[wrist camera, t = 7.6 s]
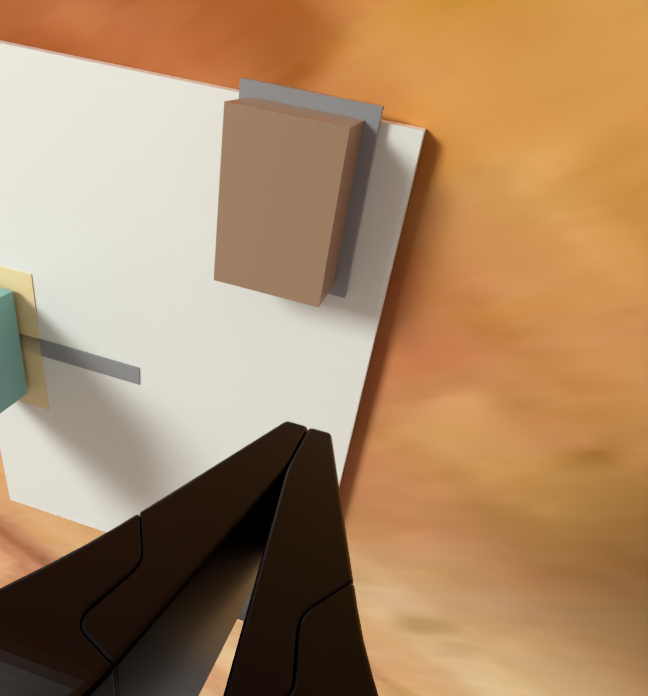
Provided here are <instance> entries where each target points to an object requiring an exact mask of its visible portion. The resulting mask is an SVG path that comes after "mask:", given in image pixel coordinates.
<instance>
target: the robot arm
mask: <svg viewBox="0 0 648 696" xmlns="http://www.w3.org/2000/svg"><path fill="white" fill-rule="evenodd" d="M253 586H254V587H253ZM252 588H253V591H252V594H251V598H250V601H249V605H248V609H247V612H246V616H245V620H244V623H243V627H242V630H241V634H240V638H239V641H238V645H237V648H236V652H235V656H234V659H233V663H232V667H231V670H230V674H229V677H228V681H227V685H226V688H225V692H224V696H378V693H377V689H376V686H375V683H374V679H373V676H372V672H371V668H370V664H369V660H368V656H367V652H366V648H365V644H364V640H363V635H362V630H361V624H360V619H359V614H358V608H357V602H356V595H355V589H354V586H353V577H352V570H351V564H350V557H349V550H348V543H347V537H346V530H345V523H344V517H343V510H342V503H341V496H340V490H339V483H338V476H337V470H336V463H335V456H334V449H333V443H332V437H331V435H330V434H329V433H327V432H324V431H320V430H317V429H314V428H311V429H309V430H308V429H307V427H306V426H303V425H300V424H296V423H293V422H288V421H287V422H284V423H282V424H280V425H279V426H277V427H276V428H274V429H272V430H271V431H269V432H268V433H266V434H264V435H263V436H261V437H260V438H258V439H256V440H255V441H253V442H252V443H250V444H248V445H247V446H245V447H244V448H242V449H240V450H239V451H237V452H236V453H234V454H232V455H231V456H229V457H228V458H226V459H224V460H223V461H221V462H220V463H218V464H216V465H215V466H213V467H212V468H210V469H208V470H207V471H205V472H204V473H202V474H200V475H199V476H197V477H196V478H194V479H192V480H191V481H189V482H188V483H186V484H184V485H183V486H181V487H180V488H178V489H176V490H175V491H173V492H172V493H170V494H168V495H167V496H165V497H164V498H162V499H160V500H159V501H157V502H156V503H154V504H152V505H151V506H149V507H148V508H146V509H144V510H143V511H141V512H140V516H139V515H134V516H133V517H131V518H130V519H128V520H126V521H125V522H123V523H122V524H120V525H118V526H117V527H115V528H113V529H112V530H110V531H108V532H107V533H105V534H103V535H102V536H100V537H98V538H96V539H95V540H93V541H91V542H90V543H88V544H86V545H84V546H82V547H81V548H79V549H77V550H75V551H73V552H71V553H69V554H67V555H65V556H64V557H62V558H60V559H58V560H56V561H54V562H52V563H50V564H48V565H46V566H44V567H42V568H40V569H38V570H36V571H34V572H32V573H30V574H28V575H26V576H24V577H22V578H20V579H18V580H16V581H14V582H12V583H10V584H8V585H6V586H4V587H2V588H0V696H199V694H200V692H201V690H202V688H203V686H204V684H205V682H206V680H207V678H208V676H209V674H210V672H211V670H212V668H213V666H214V664H215V662H216V660H217V658H218V656H219V654H220V652H221V650H222V648H223V646H224V644H225V642H226V640H227V638H228V636H229V634H230V632H231V630H232V628H233V626H234V624H235V622H236V620H237V618H238V616H239V614H240V612H241V610H242V608H243V606H244V604H245V602H246V600H247V598H248V596H249V594H250V592H251V590H252Z"/></svg>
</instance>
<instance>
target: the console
mask: <svg viewBox="0 0 648 696" xmlns="http://www.w3.org/2000/svg"><path fill="white" fill-rule="evenodd" d="M383 109H384V106H381V105H376V104H371V103H366V102H361V101H356V100H352V99H347V98H342V97H337V96H332V95H327V94H322V93H317V92H312V91H307V90H302V89H297V88H292V87H288V86H283V85H278V84H273V83H268V82H263V81H258V80H253V79H248V78H240V88H239V90H238V89H233V88H228V87H224V86H219V85H214V84H209V83H204V82H199V81H195V80H190V79H185V78H180V77H175V76H170V75H166V74H161V73H156V72H151V71H146V70H141V69H137V68H132V67H127V66H122V65H117V64H112V63H108V62H103V61H98V60H93V59H88V58H83V57H79V56H74V55H69V54H64V53H59V52H54V51H50V50H45V49H40V48H35V47H30V46H25V45H21V44H16V43H11V42H6V41H1V40H0V288H3V289H7V290H10V291H13V298H14V304H15V311H16V318H17V324H18V331H19V338H20V344H21V351H22V357H23V364H24V371H25V377H26V384H27V391H28V393H27V394H26V395H25V396H23V397H22V398H21V399H19V400H18V401H17V402H15V403H14V404H12V405H11V406H10V407H8V408H7V409H6V410H4V411H3V412H2V413H0V450H1V455H2V460H3V465H4V470H5V475H6V480H7V486H8V491H9V496H10V500H13V501H16V502H19V503H22V504H25V505H28V506H31V507H34V508H36V509H39V510H42V511H45V512H48V513H51V514H54V515H57V516H60V517H63V518H66V519H69V520H72V521H75V522H77V523H80V524H83V525H86V526H89V527H92V528H95V529H98V530H101V531H104V532H108V531H110V530H112V529H113V528H115V527H117V526H118V525H120V524H122V523H123V522H125V521H126V520H128V519H130V518H131V517H133V516H134V515H139V516H140V512H141V511H143V510H144V509H146V508H148V507H149V506H151V505H152V504H154V503H156V502H157V501H159V500H160V499H162V498H164V497H165V496H167V495H168V494H170V493H172V492H173V491H175V490H176V489H178V488H180V487H181V486H183V485H184V484H186V483H188V482H189V481H191V480H192V479H194V478H196V477H197V476H199V475H200V474H202V473H204V472H205V471H207V470H208V469H210V468H212V467H213V466H215V465H216V464H218V463H220V462H221V461H223V460H224V459H226V458H228V457H229V456H231V455H232V454H234V453H236V452H237V451H239V450H240V449H242V448H244V447H245V446H247V445H248V444H250V443H252V442H253V441H255V440H256V439H258V438H260V437H261V436H263V435H264V434H266V433H268V432H269V431H271V430H272V429H274V428H276V427H277V426H279V425H280V424H282V423H284V422H287V421H288V422H293V423H296V424H300V425H303V426H306V427H307V429H308V430H309V429H311V428H314V429H317V430H320V431H324V432H327V433H329V434H330V435H331V437H332V443H333V449H334V456H335V463H336V470H337V476H338V483H339V488H340V484H341V480H342V475H343V471H344V467H345V463H346V459H347V455H348V451H349V446H350V442H351V438H352V434H353V430H354V426H355V422H356V417H357V413H358V409H359V405H360V401H361V397H362V393H363V388H364V384H365V380H366V376H367V372H368V368H369V364H370V359H371V355H372V351H373V347H374V343H375V339H376V335H377V330H378V326H379V322H380V318H381V314H382V310H383V306H384V301H385V297H386V293H387V289H388V285H389V281H390V277H391V272H392V268H393V264H394V260H395V256H396V252H397V248H398V243H399V239H400V235H401V231H402V227H403V223H404V219H405V214H406V210H407V206H408V202H409V198H410V194H411V190H412V185H413V181H414V177H415V173H416V169H417V165H418V161H419V156H420V152H421V148H422V144H423V140H424V136H425V132H426V128H422V127H417V126H412V125H407V124H403V123H398V122H393V121H388V120H383V119H382V114H383ZM253 587H254V586H253ZM252 591H253V588H252V590H251V592H250V594H249V596H248V598H247V600H246V602H245V604H244V606H243V608H242V610H241V612H240V614H239V616H238V618H237V619H240V620H243V621H244V620H245V616H246V612H247V609H248V605H249V601H250V598H251V594H252Z"/></svg>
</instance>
